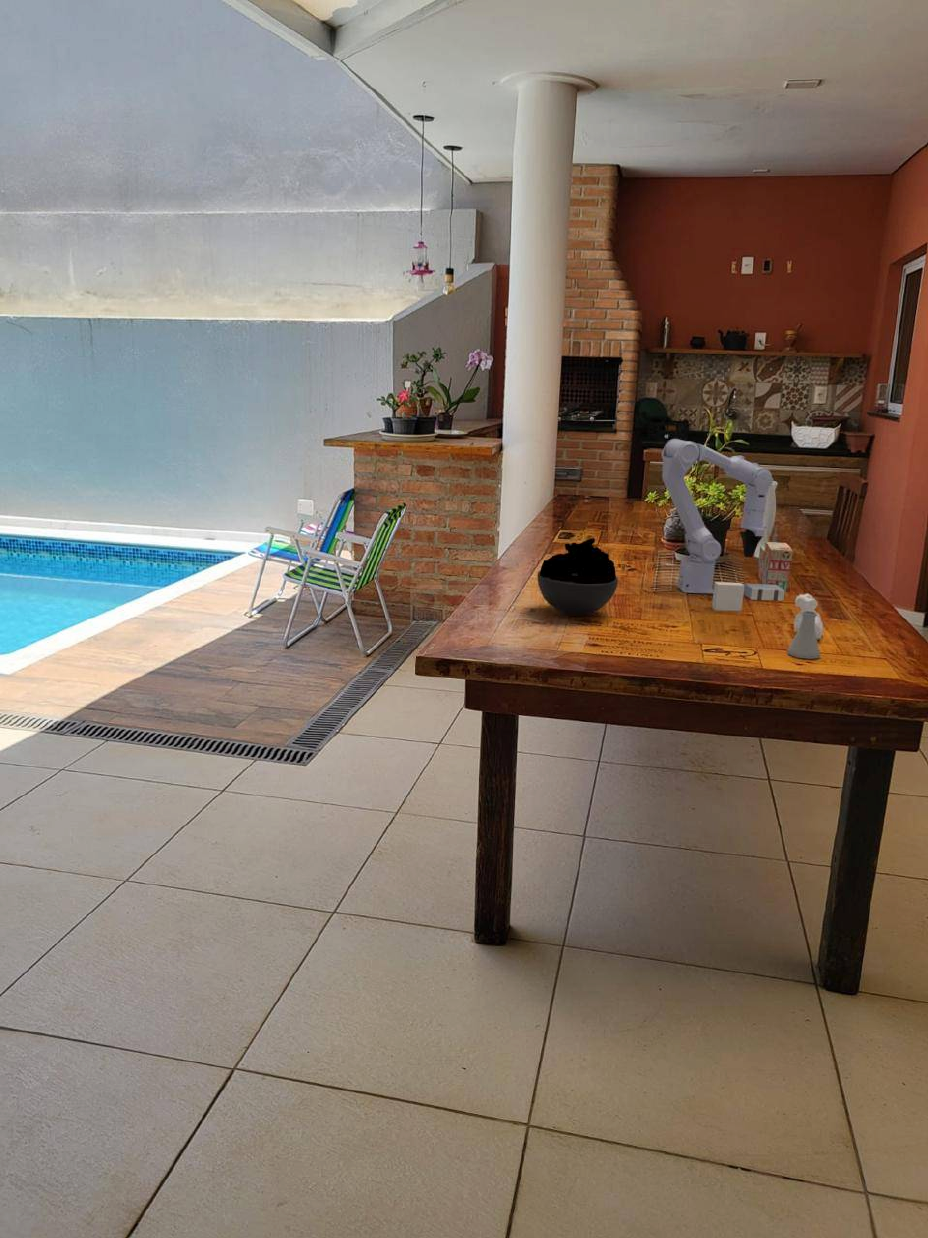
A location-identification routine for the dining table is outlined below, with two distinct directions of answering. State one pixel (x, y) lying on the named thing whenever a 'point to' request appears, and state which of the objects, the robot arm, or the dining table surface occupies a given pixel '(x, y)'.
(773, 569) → the stack of blocks
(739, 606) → the light grey square block
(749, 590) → the gray rectangular block
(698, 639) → the dining table surface
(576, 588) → the coal bowl
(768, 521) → the skyscraper
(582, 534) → the dining table surface
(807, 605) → the bust
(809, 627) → the flask
